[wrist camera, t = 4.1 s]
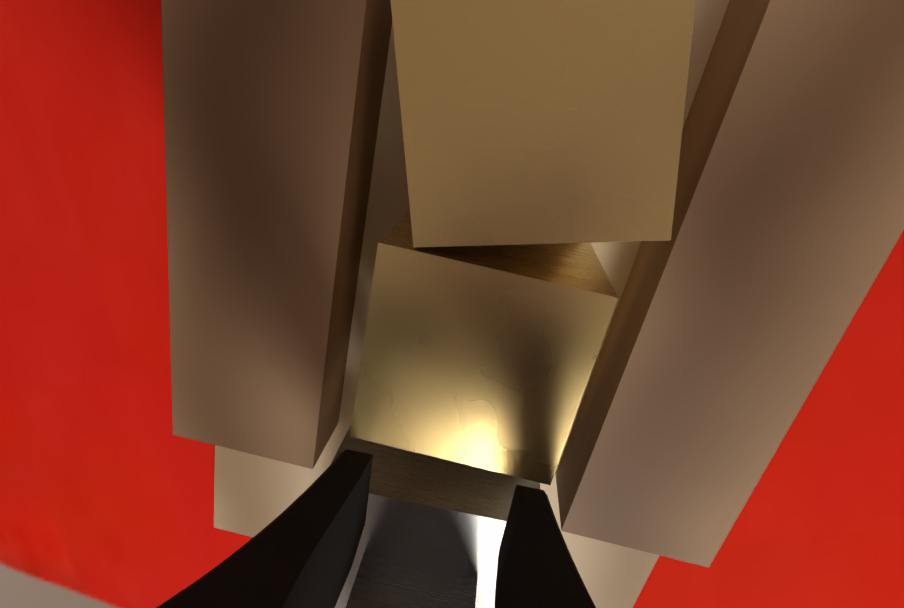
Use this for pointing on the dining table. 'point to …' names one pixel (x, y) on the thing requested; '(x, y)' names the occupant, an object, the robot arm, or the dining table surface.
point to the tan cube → (480, 350)
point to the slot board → (626, 263)
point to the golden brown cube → (541, 118)
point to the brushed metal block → (427, 531)
